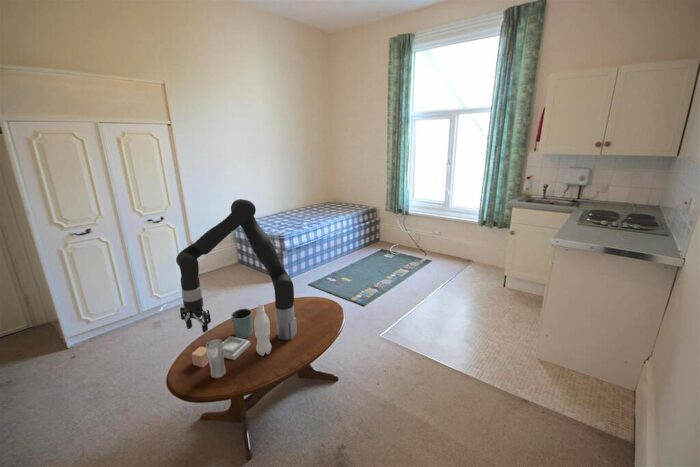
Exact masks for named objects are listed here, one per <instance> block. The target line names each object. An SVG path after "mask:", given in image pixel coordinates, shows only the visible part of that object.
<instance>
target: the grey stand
mask: <svg viewBox="0 0 700 467" xmlns="http://www.w3.org/2000/svg"><path fill="white" fill-rule="evenodd" d="M222 342H223V346H224V359H229V360H234V361H235V360H236V359H237V358H239V356H241V354H242V353H244V351H246V350H247V349H248V348H249V347H250V346H251V341H250V340H247V339H246V338H238V337H236V336H232V335H229V336H227V338H226V339H225V340H224V341H222Z"/></svg>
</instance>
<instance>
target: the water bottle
mask: <svg viewBox="0 0 700 467" xmlns="http://www.w3.org/2000/svg"><path fill="white" fill-rule="evenodd" d="M253 329H254V335H255V337H256V340H257V342H256V346H255V351H256V353H257V354H258V355H259V356H261V357H264V356H265V354H266V355H270V353H271V351H272V344H271V342H270V334H271V326H270V318H269V316H268V315H267V314H266V312H265V307H264V304H263V303H262V304H261V303H260V304H257V305H256V315H255V317H254V319H253Z"/></svg>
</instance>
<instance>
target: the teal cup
mask: <svg viewBox="0 0 700 467" xmlns="http://www.w3.org/2000/svg"><path fill="white" fill-rule="evenodd" d="M230 315H231V316H230V317H231V320H232V324H233V329H234V333H235V337H237V338H241V339H246V338H248V337H251V336H252V334H253V332H254V331H253V329H254V325H253V312H252V310H251V309H249V308H239V309H236V310H234V311H233V312H232V313H231V314H230Z"/></svg>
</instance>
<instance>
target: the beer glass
mask: <svg viewBox="0 0 700 467" xmlns="http://www.w3.org/2000/svg"><path fill="white" fill-rule="evenodd" d="M223 342H224V341H222V339H217V338H216V339H213V340H212V339H211V340H210V341H207V343H206V344H205V348H206V354H207V359H208V361H209V363H208V364H209V366H210V377H211V378H212V379H220V378H222V377H223V376H224V375H225V374H226V373H227V370H226V367H225V357H224V346H223Z"/></svg>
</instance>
